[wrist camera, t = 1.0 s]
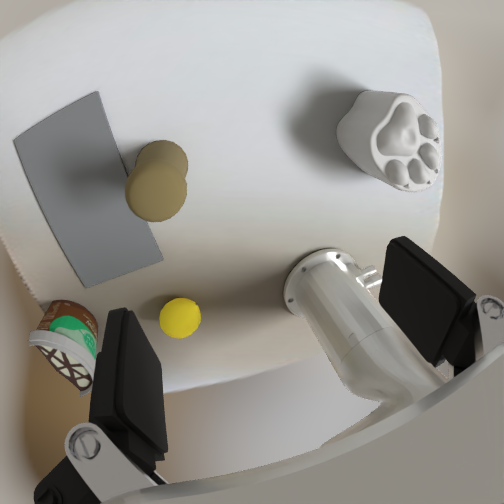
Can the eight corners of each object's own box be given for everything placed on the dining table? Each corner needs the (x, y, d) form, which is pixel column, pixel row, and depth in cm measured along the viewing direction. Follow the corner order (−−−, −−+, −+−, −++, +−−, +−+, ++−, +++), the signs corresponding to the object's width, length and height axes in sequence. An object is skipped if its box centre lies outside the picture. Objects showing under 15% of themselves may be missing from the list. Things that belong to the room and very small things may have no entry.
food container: (120, 340, 40) (115, 392, 32) (90, 349, 40) (82, 398, 32) (77, 281, 34) (57, 332, 25) (47, 293, 33) (25, 342, 25)
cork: (138, 137, 28) (118, 155, 18) (192, 143, 30) (198, 162, 20) (133, 189, 30) (114, 230, 21) (184, 194, 32) (187, 236, 23)
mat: (98, 91, 24) (97, 91, 23) (163, 258, 36) (163, 260, 35) (15, 139, 23) (13, 139, 22) (86, 286, 35) (86, 288, 34)
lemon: (180, 323, 42) (179, 352, 38) (151, 306, 39) (147, 335, 35) (211, 300, 40) (213, 329, 36) (182, 280, 37) (180, 309, 33)
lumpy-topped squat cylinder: (369, 80, 30) (414, 82, 23) (419, 141, 36) (461, 156, 29) (326, 138, 33) (366, 152, 26) (384, 192, 39) (423, 216, 32)
